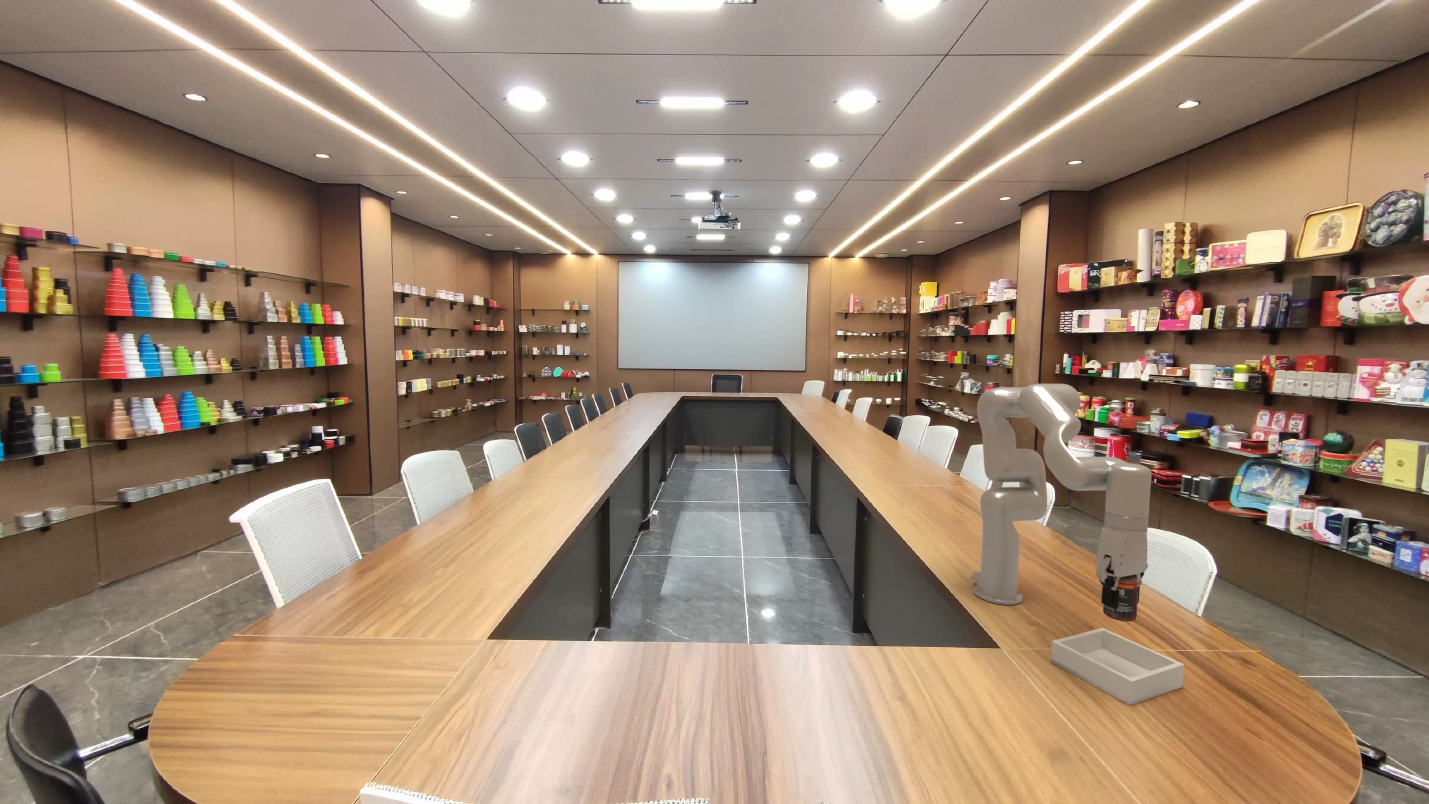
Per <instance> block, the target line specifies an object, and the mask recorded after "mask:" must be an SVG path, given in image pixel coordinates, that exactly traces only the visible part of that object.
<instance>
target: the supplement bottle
mask: <svg viewBox="0 0 1429 804" xmlns="http://www.w3.org/2000/svg"><path fill="white" fill-rule="evenodd" d="M1110 573H1111V574H1114V572H1113V571H1111V570H1110ZM1109 579H1110V580H1111V581H1112V582H1113V580H1114V577H1111V576H1109ZM1138 586H1140V585H1139V582H1138V579H1137V578H1136V577H1134V575H1130V576H1125V577H1121V579H1120V582H1119V585H1118V588H1117V590H1119V603H1118V608H1117V609H1114V608H1111V607H1109V606H1106V605H1104V604H1102V613H1103V614H1104V615H1105V616H1106V617H1108V618H1110V619H1112V620H1116V621H1119V622H1127V623H1130V622H1131V623H1132V622H1134V621H1136V620H1137V615H1138V604H1137V602H1138Z"/></svg>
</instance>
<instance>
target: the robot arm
mask: <svg viewBox="0 0 1429 804" xmlns="http://www.w3.org/2000/svg"><path fill="white" fill-rule="evenodd" d="M1081 404H1082V403H1081V396H1080V393H1079V392H1078V391H1077V389H1075V387H1073V386H1072V385H1069V384H1065V383H1034V384H1029V385H1028V386H1025V387H1024V386H1023V387H1015V386H1010V387H1009V386H1008V387H1006V386H1004V387H1003V386H1002V387H1000V386H999V387H994V388H990V389H987V390H985V391H983V393H982V394H981V395H980V396H979V398H978V401H977V404H976V405H977V406H976V413H977V415H976V416H977V419H978V423H979V425H980V431H981V435H982V451H983V452H982V453H983V467H984V473H985V475H986V478H987V479H988V480H990V481H992V482H995V483H1018V485H1019V486H997V487H992V488H988V489H986V490H985V491H984V492H983V493H982V494H981V496H980V500H979V503H980V512H981V519H982V538H981V543H982V544H981V556H980V557H981V558H980V559H981V561H980V571H978V570H974V572H973V574H971V575H970V579H972V580H974V581H976V585H974V587H973V593H974V594H975V596H977V597H978V598H980V599H981V600H984V601H986V602H989V603H993V604H996V605H998V604H999V605H1004V606H1012V605H1018V604H1021V603H1022V602H1023V599H1024V597H1023V594H1022V593H1021V592H1020V591H1019V590H1018V578H1019V575H1018V574H1019V564H1020V563H1019V562H1020V560H1019V559H1020V547H1021V545H1020V543H1021V542H1020V540H1021V539H1020V534H1019V533H1018V530H1017V529H1016V528H1015V526H1014V522H1025V521H1026V522H1027V521H1028V522H1029V521H1038V520H1040V519H1043V517H1044V516H1045V515H1046V513H1047V509H1048V492H1047V490H1048V488H1047V477H1046V475H1047V474H1046V467H1047V468H1048V469H1049V470H1050V472H1051V473H1052V474H1053V476H1054V477H1055V478H1056V480H1058V481H1059V483H1060V484H1062V486H1063V487H1065V488H1067V489H1068V490H1071V491H1077V492H1083V491H1084V492H1085V491H1086V492H1087V491H1100V492H1101V491H1106V492H1105V505H1104V506H1105V507H1104V519H1103V520H1104V521H1103V522H1104V523H1103V526H1102V529H1101V532H1100V535H1099V538H1098V539H1099V540H1098V545H1097V551H1096V559H1095V560H1096V561H1095V569H1096V571H1095V576H1096V577H1097V578H1098V580H1099V582H1100V587H1101V601H1100V603H1101V604H1102V605H1103V604H1104V605H1106V606H1109V607H1111V608H1114V609H1117V608H1118V603H1119V590H1117V588H1118V585H1119V582H1120V579H1121V577H1125V576H1130V575H1134V577H1136V578H1137V579H1138V582H1139V585H1138V602H1137V605H1138V604H1139V602H1140V591H1141V585H1142V583H1143V581H1142V579H1143V577H1144V576H1145V572H1146V571H1147V569H1148V568H1149V564H1148V534H1147V533H1148V529H1149V528H1148V527H1149V513H1150V499H1151V489H1152V487H1151V486H1152V471H1151V469H1150V468H1149V467H1147V466H1145V465H1142V464H1137V463H1130V462H1127V461H1125V460H1123V459H1120V458H1118V457H1114V456H1076V455H1074V454H1073V452H1072V451H1071V450H1070V449H1069V447H1068V446H1067V445H1066V444H1067V443H1068V442H1070V441H1071V440H1073V439H1074V438H1075V437H1076V436H1077V435H1079V433H1080V431H1081V429H1082V428H1081V427H1082V422H1081V420H1080V419H1079V418H1078V417H1077V415H1075V414H1076V413H1077V412H1078V410H1080V407H1081ZM1007 418H1012V419H1013V418H1021V419H1022V418H1027V419H1028V418H1029V420H1030V421H1031V422H1032V424H1033V425H1034V426H1035V427H1036V429H1037V430H1038V432H1040V433H1041V434H1042V436H1043V437H1044V441H1043V448H1042V451H1043V458H1044V459H1043V458H1042V456H1041V454H1040V453H1038V452H1037V451H1036V450H1034V449H1032V448H1017V442H1016V441H1017V440H1016V439H1017V437H1016V432H1015V431H1014V429H1013V427H1012V425H1011V424H1010V422H1009V421H1007ZM1045 464H1046V466H1045ZM1110 571H1113V572H1114V574H1111V573H1110ZM1109 576H1111V577H1114V580H1113V582H1112V581H1111V580H1110V579H1109Z"/></svg>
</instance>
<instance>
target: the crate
mask: <svg viewBox="0 0 1429 804" xmlns="http://www.w3.org/2000/svg"><path fill="white" fill-rule="evenodd" d="M1050 663H1051V664H1052V665H1055V666H1057V667H1059V668H1061V669H1062V670H1064V671H1066V672H1068V673H1070V674H1071V675H1073V676H1075V677H1077V678H1079V679H1080V680H1083V682H1084V681H1085V682H1086V683H1088V684H1090V685H1092V686H1093V687H1095V688H1098V689H1099V690H1101V691H1103V692H1105V693H1106V694H1108V695H1110V696H1112V697H1114V698H1116V699H1117V700H1120V701H1121V702H1123V703H1125V704H1126V705H1128V706H1133V705H1136V704H1139V703H1143V702H1144V701H1146V700H1149V699H1152V698H1155V697H1158V696H1161V695H1164V694H1166V693H1170V692H1172V691H1175V690H1178V689H1181V688H1183V685H1184V684H1183V683H1184V673H1185V672H1184V671H1185V663H1182V662H1180V661H1177V660H1176V659H1173V658H1171V657H1170V656H1169V657H1168V656H1166V655H1164V654H1162V653H1159V652H1158V651H1155V650H1152V649H1151V648H1148V647H1146V646H1144V645H1142V644H1140V643H1137V642H1135V641H1133V640H1131V639H1129V638H1126V637H1124V636H1122V635H1119V634H1118V633H1116V632H1113V631H1110V630H1109V629H1107V628H1104V627H1100V628H1096V629H1092V630H1089V631H1085V632H1081V633H1077V634H1074V635H1070V636H1067V637H1063V638H1059V639H1055V640H1052V643H1051V657H1050Z"/></svg>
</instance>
